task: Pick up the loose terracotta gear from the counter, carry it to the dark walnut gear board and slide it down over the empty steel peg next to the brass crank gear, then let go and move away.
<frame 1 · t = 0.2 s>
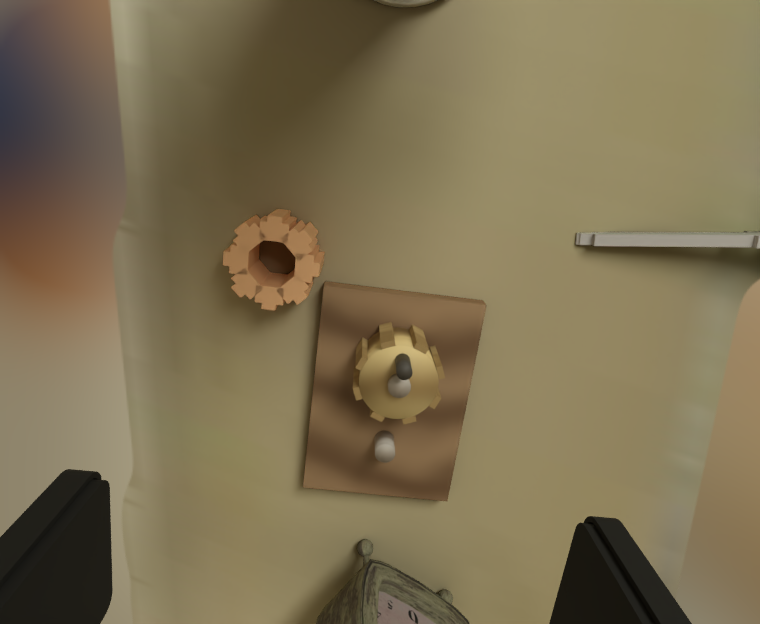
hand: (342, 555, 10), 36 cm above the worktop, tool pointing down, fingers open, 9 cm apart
terracotta gear: (280, 253, 45), on the worktop
gear board: (389, 393, 49), on the worktop
caliper: (689, 234, 46), on the worktop
tabletop clock: (388, 581, 56), on the worktop
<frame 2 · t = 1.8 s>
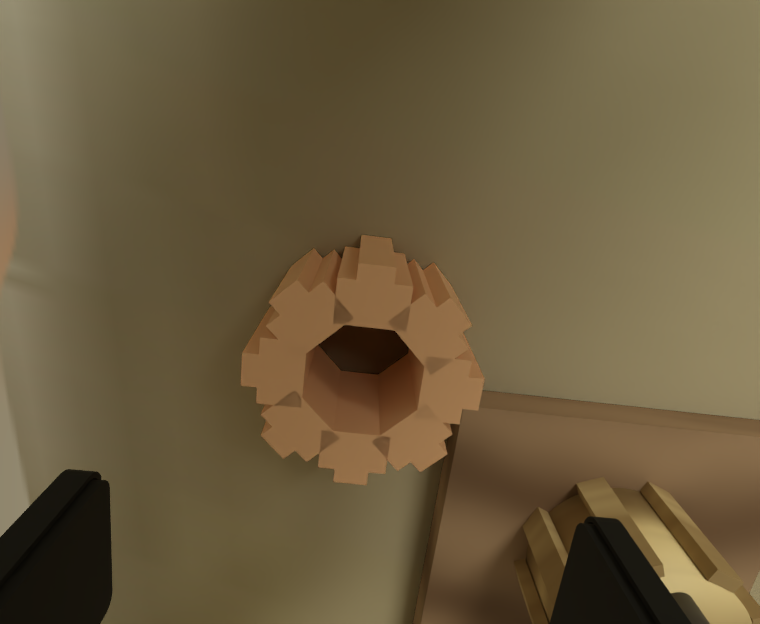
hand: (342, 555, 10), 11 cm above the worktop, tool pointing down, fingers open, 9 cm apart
terracotta gear: (364, 330, 20), on the worktop
gear board: (567, 593, 25), on the worktop
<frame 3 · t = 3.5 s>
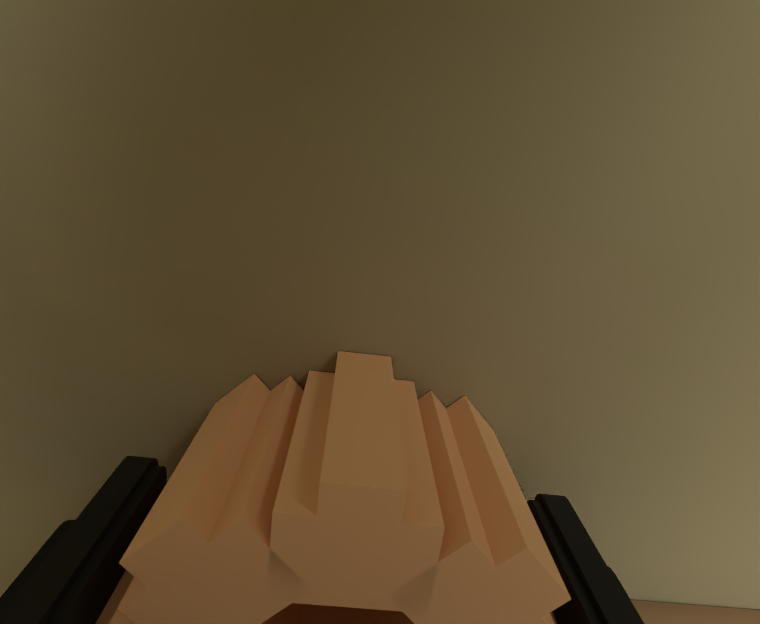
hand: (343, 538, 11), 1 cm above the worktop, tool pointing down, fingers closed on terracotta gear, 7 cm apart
terracotta gear: (345, 505, 12), on the worktop, touching gripper
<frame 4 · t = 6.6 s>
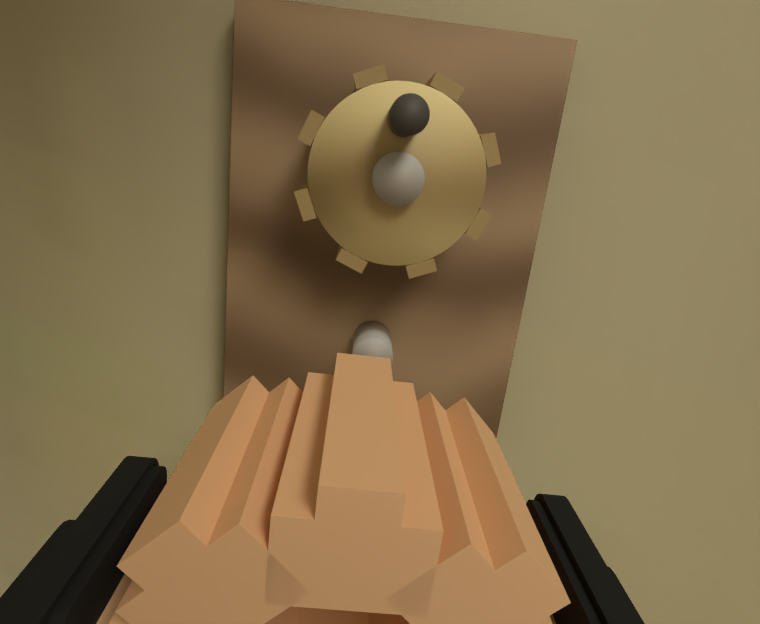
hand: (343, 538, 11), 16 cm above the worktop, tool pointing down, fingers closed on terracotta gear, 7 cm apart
terracotta gear: (344, 507, 12), point 15 cm above the worktop, touching gripper
gear board: (380, 252, 26), on the worktop
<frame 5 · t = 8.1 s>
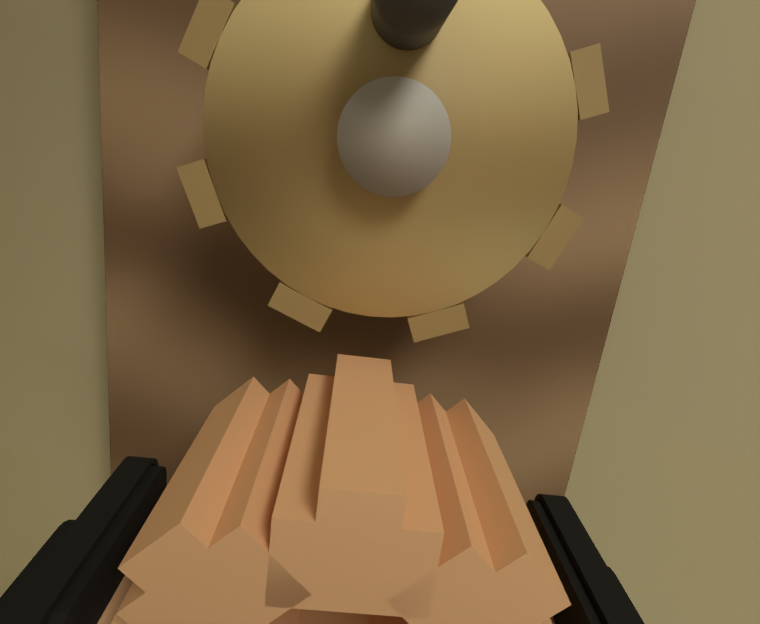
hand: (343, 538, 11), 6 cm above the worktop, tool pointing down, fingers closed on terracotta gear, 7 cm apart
terracotta gear: (345, 508, 12), point 5 cm above the worktop, touching gripper
gear board: (365, 278, 16), on the worktop
when the fingers open (3 cm above the worktop, at t = 9.6 s): terracotta gear stays where it is, resting on gear board.
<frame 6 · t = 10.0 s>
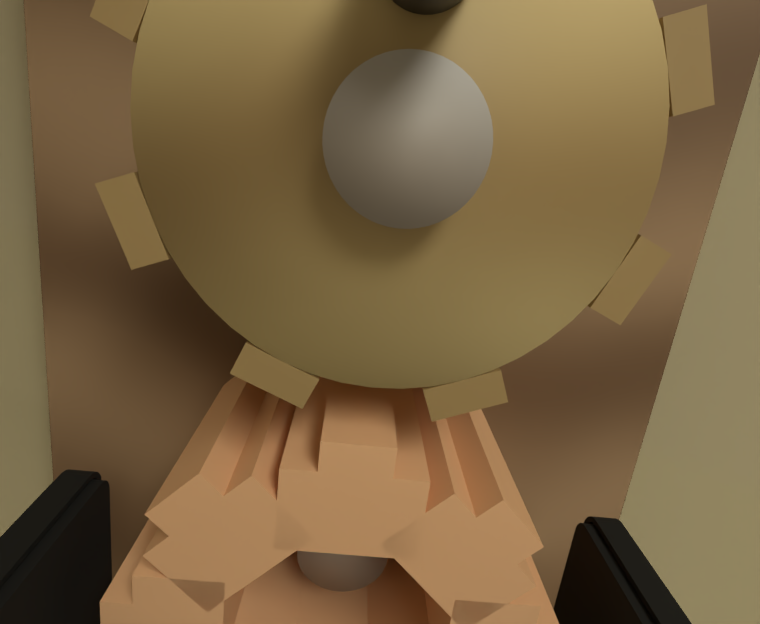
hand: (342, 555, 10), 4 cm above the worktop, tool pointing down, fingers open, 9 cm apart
terracotta gear: (345, 480, 13), point 1 cm above the worktop, touching gear board
gear board: (365, 310, 13), on the worktop
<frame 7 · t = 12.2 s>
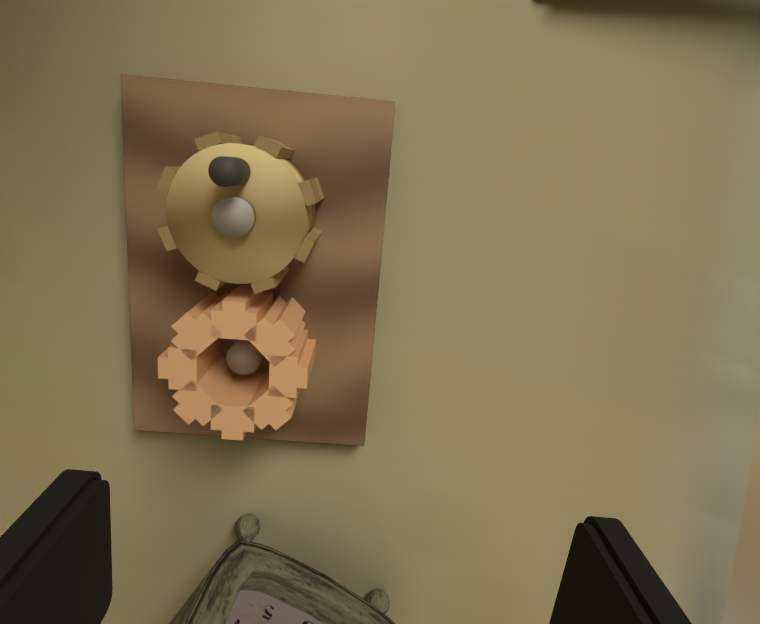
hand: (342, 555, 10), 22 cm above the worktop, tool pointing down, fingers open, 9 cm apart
terracotta gear: (252, 344, 31), point 1 cm above the worktop, touching gear board
gear board: (259, 273, 31), on the worktop
tabletop clock: (294, 580, 37), on the worktop
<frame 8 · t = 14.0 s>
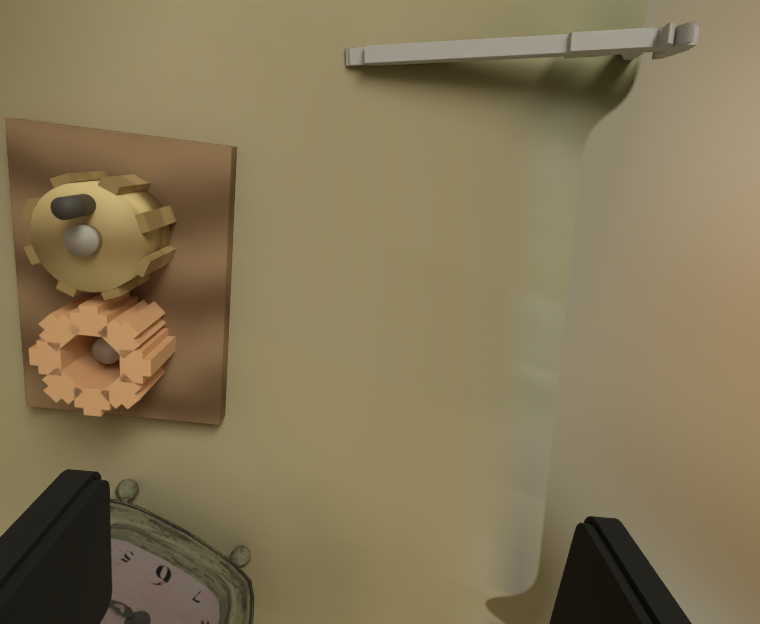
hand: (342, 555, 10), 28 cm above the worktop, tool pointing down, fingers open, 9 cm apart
terracotta gear: (122, 338, 37), point 1 cm above the worktop, touching gear board
gear board: (131, 280, 37), on the worktop
caliper: (502, 55, 34), on the worktop
tabletop clock: (172, 537, 44), on the worktop
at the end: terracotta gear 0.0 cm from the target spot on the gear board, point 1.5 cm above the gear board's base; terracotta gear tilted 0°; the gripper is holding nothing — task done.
